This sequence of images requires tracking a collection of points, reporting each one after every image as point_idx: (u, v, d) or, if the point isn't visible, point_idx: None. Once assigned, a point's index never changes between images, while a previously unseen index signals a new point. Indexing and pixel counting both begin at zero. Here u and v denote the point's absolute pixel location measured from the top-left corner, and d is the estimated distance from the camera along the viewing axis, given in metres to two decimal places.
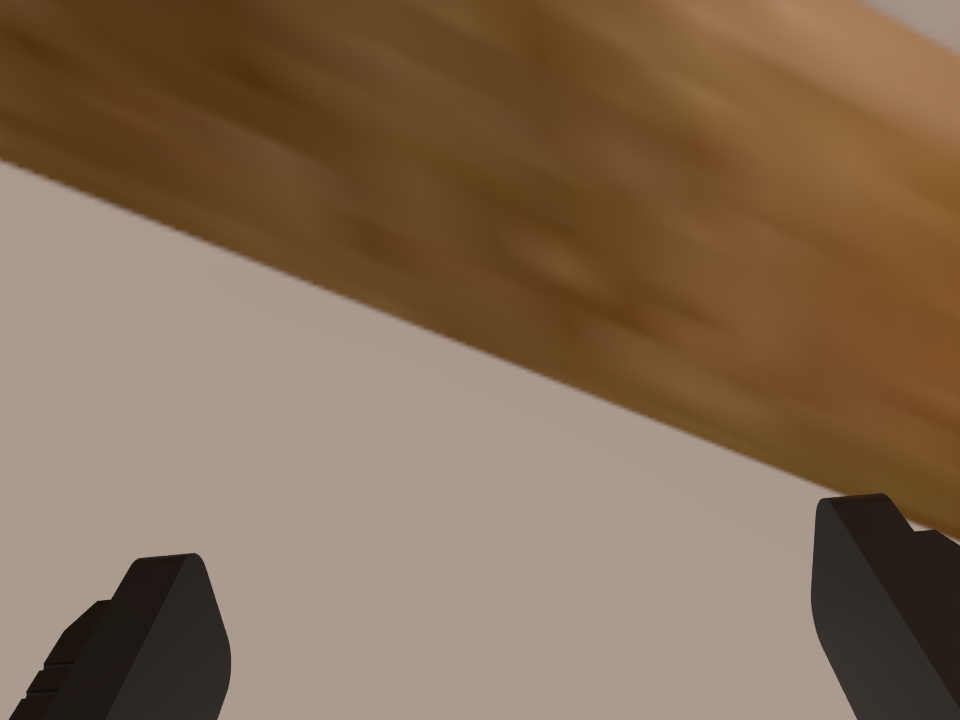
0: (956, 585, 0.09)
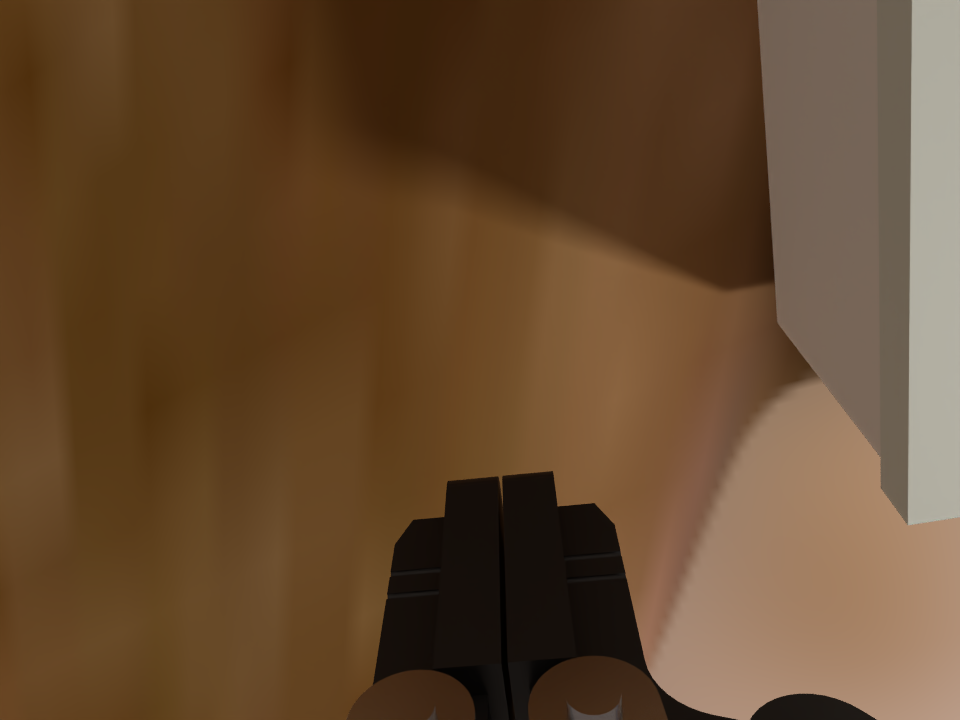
0: (585, 550, 0.11)
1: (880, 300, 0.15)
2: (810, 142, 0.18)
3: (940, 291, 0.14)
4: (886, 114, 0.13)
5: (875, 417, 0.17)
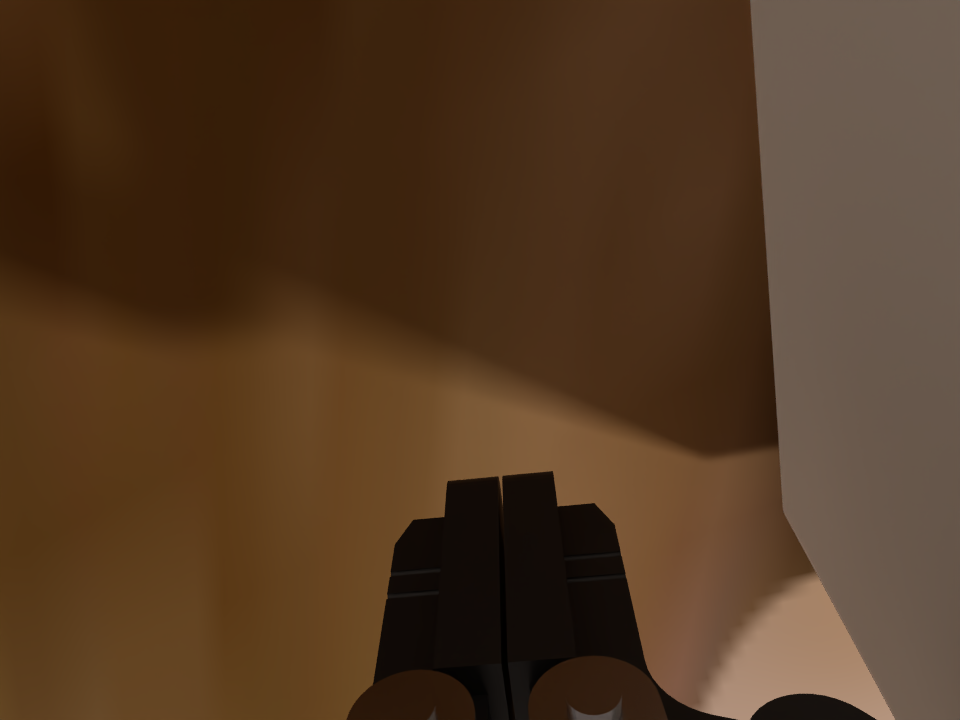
0: (586, 550, 0.11)
1: None
2: (845, 304, 0.11)
3: None
4: None
5: None
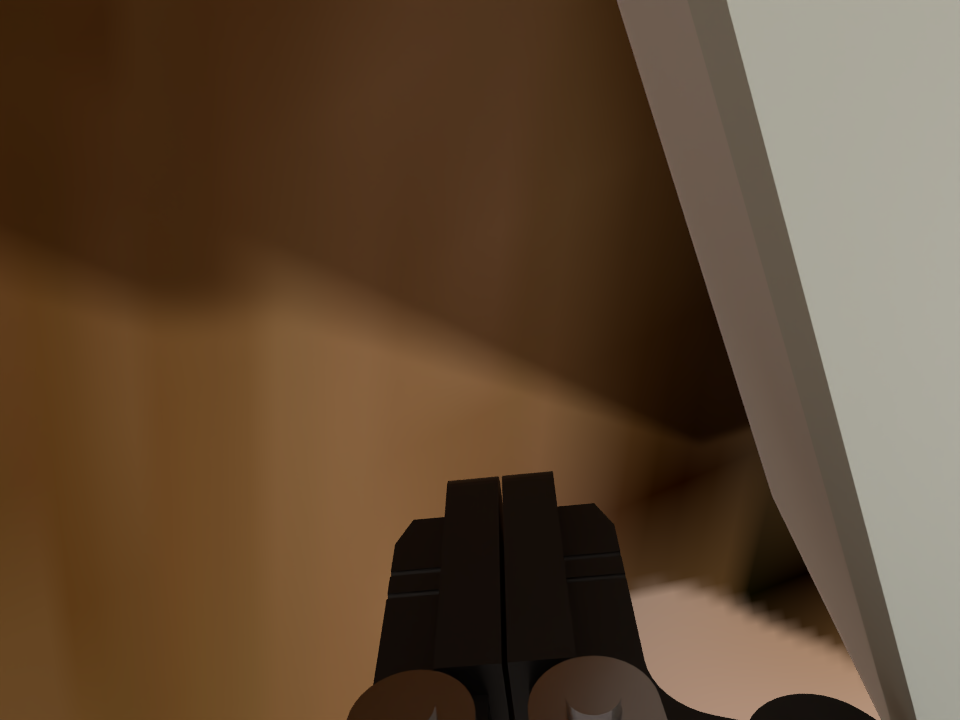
0: (585, 550, 0.11)
1: (873, 653, 0.08)
2: (738, 306, 0.11)
3: None
4: (801, 377, 0.07)
5: None
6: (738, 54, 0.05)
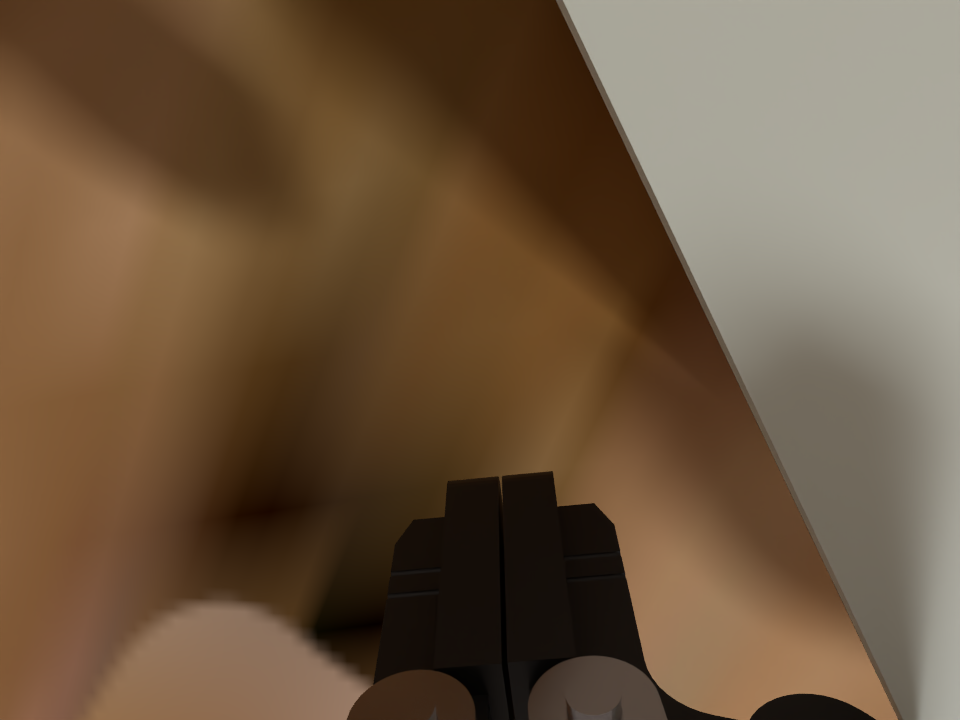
0: (585, 550, 0.11)
1: (842, 601, 0.08)
2: None
3: (933, 634, 0.07)
4: (712, 323, 0.06)
5: None
6: (563, 0, 0.05)
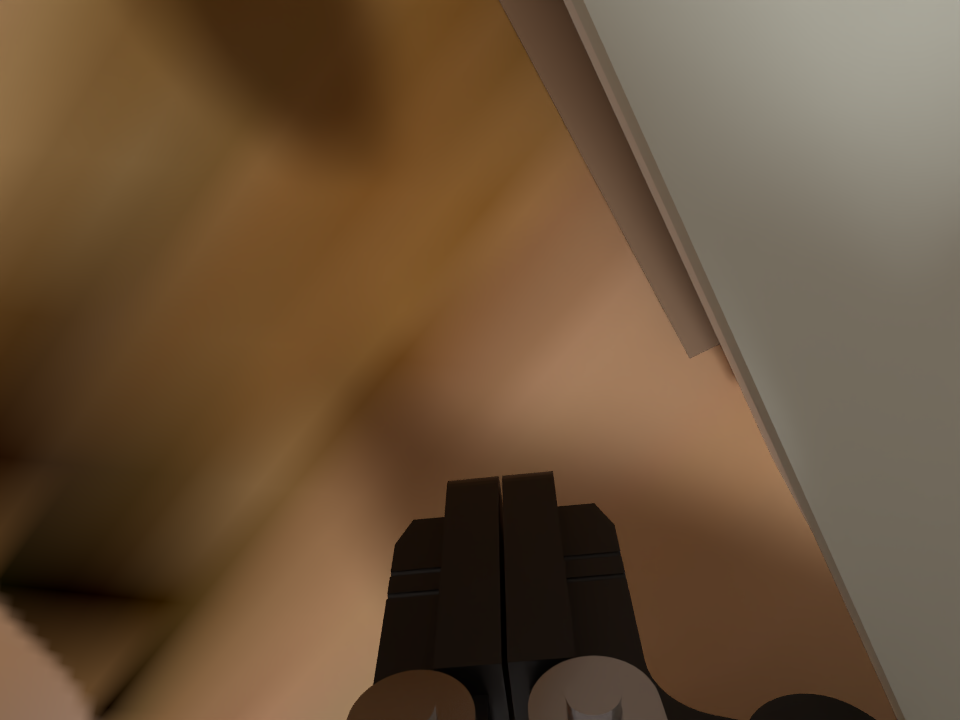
0: (585, 550, 0.11)
1: (843, 599, 0.08)
2: None
3: (937, 631, 0.06)
4: (718, 317, 0.06)
5: None
6: None
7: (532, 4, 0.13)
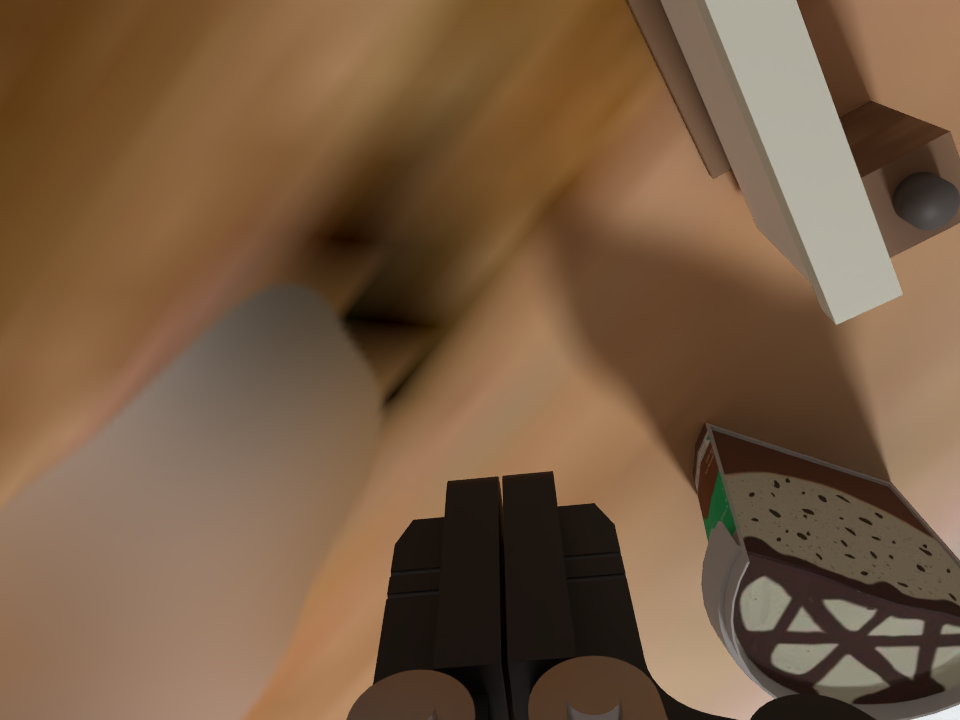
0: (586, 550, 0.11)
1: (776, 197, 0.25)
2: (724, 111, 0.28)
3: (799, 184, 0.23)
4: (737, 97, 0.23)
5: None
6: (707, 8, 0.22)
7: (646, 10, 0.30)
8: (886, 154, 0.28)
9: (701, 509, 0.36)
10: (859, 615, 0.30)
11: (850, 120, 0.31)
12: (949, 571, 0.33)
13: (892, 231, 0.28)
